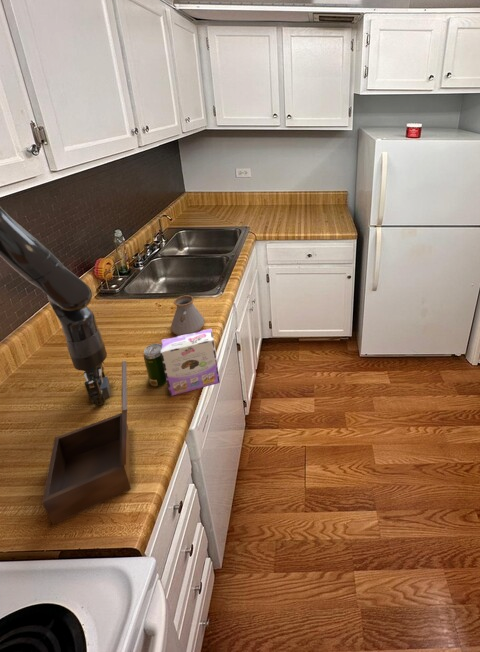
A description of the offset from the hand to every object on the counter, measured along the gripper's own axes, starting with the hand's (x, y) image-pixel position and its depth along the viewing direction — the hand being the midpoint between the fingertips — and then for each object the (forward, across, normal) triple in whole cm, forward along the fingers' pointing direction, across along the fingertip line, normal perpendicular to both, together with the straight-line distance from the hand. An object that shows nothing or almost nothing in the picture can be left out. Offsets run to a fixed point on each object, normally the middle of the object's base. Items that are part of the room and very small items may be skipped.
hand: (101, 393), depth 93 cm
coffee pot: (+1, -14, +26) cm, 29 cm away
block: (+1, 0, 0) cm, 1 cm away
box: (+1, +24, 0) cm, 24 cm away
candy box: (+1, +8, +24) cm, 25 cm away
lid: (-14, +24, +8) cm, 29 cm away
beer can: (+1, +2, +15) cm, 15 cm away
